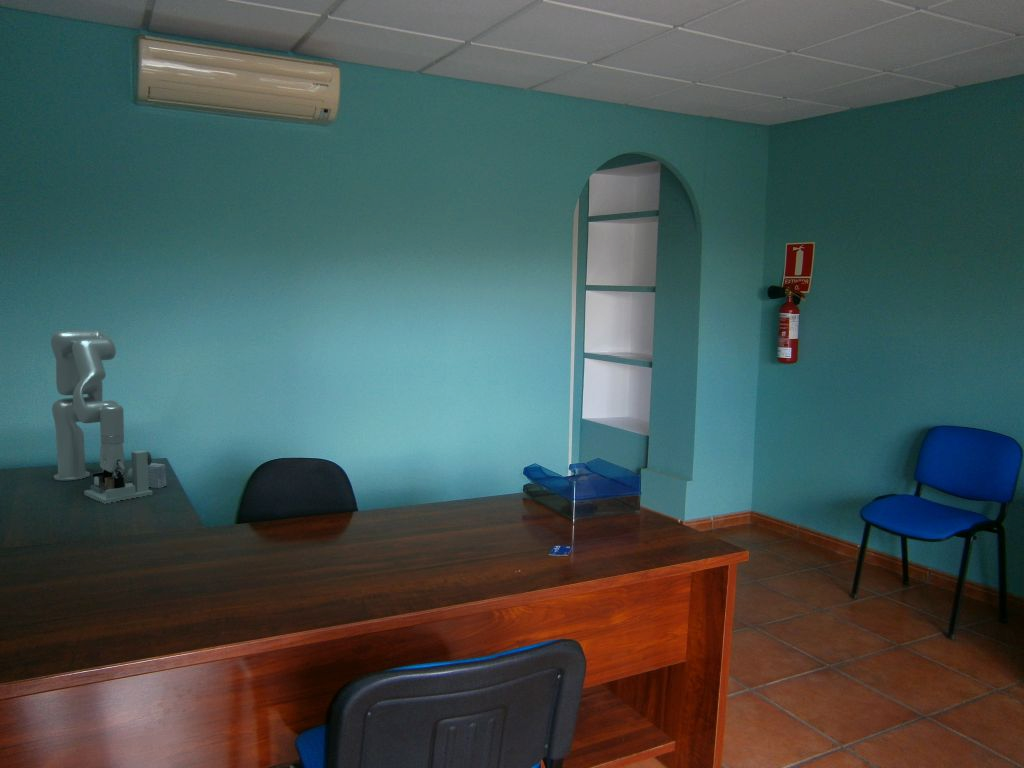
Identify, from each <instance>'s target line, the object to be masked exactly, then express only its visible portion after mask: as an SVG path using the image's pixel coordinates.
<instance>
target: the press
mask: <svg viewBox="0 0 1024 768" xmlns="http://www.w3.org/2000/svg"><path fill="white" fill-rule="evenodd" d="M130 454H131V468H132V481H133V482H129V483H127V482H126V483H125V487H122V488H116V489H110V490H102V489H101V488H99V487H96V486H95V484H91V485H90V489H87V490H83V495H84V496H86V497H89V498H91V499H92V500H95V501H97V502H99V501H100V503H101V502H102V503H101V504H103V503H104V505H106V503H108V504H112V503H111V502H113V503H117V502H116V501H119V502H121V501H120V500H124V501H127V500H126V499H129V500H132V499H131V498H135V499H137V498H136V497H140V498H143V497H142V496H145V497H148V496H147V495H151V496H153V495H152V494H154V493H153V490H151V489H149V485H148V465H150V464H151V463H152V455H151V453H150V452H149V451H146V450H144V449H143V450H142V449H141V450H134V451H131V453H130Z"/></svg>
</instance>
